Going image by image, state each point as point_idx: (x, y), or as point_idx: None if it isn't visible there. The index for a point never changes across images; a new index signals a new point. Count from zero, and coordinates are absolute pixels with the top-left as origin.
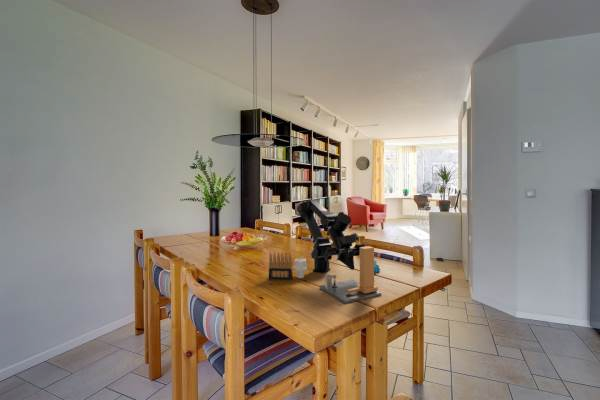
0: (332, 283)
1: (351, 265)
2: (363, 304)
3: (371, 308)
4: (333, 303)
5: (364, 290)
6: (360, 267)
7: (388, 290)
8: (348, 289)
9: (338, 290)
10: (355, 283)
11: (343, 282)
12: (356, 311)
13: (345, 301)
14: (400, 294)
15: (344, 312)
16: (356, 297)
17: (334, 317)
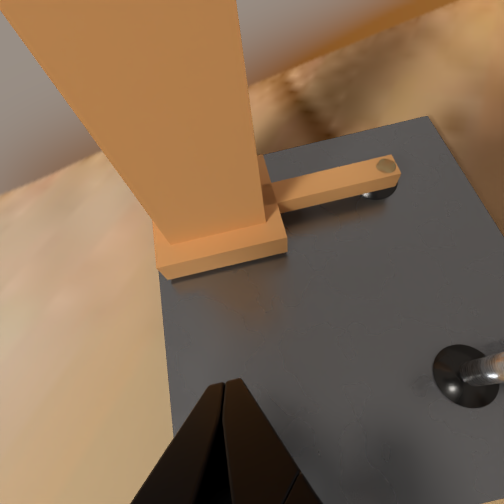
0: (478, 497)
1: (246, 408)
2: (317, 110)
3: (297, 73)
4: (493, 141)
5: (263, 161)
6: (242, 67)
7: (58, 253)
8: (383, 175)
9: (439, 280)
10: None
11: (337, 491)
12: (381, 58)
13: (420, 120)
14: (47, 185)
15: (443, 55)
16: (338, 145)
17: (501, 26)
